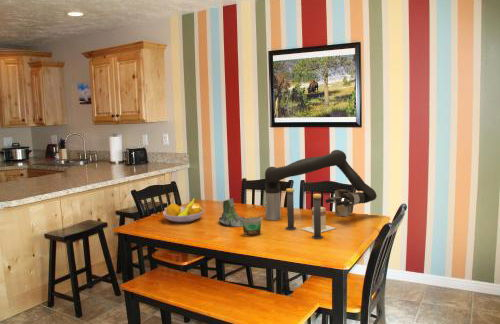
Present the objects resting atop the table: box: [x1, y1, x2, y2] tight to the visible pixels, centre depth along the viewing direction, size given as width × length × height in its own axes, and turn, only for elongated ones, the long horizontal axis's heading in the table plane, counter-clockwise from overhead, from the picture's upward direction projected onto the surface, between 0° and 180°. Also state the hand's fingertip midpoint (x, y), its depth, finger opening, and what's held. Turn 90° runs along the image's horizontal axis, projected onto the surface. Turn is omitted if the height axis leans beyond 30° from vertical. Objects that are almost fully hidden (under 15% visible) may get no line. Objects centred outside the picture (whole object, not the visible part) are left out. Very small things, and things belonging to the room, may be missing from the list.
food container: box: [241, 215, 263, 237], centre depth 232 cm, size 12×6×10 cm, turn 105°
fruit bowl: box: [162, 197, 205, 223], centre depth 271 cm, size 28×27×11 cm
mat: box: [301, 224, 337, 234], centre depth 240 cm, size 12×16×1 cm
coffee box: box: [334, 189, 352, 217], centre depth 270 cm, size 9×6×16 cm
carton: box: [311, 206, 327, 230], centre depth 239 cm, size 6×6×12 cm
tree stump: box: [218, 197, 246, 228], centre depth 258 cm, size 18×20×18 cm
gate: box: [285, 188, 324, 240], centre depth 232 cm, size 28×6×24 cm, turn 35°
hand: (331, 202), depth 244 cm, fingers open, 8 cm apart
